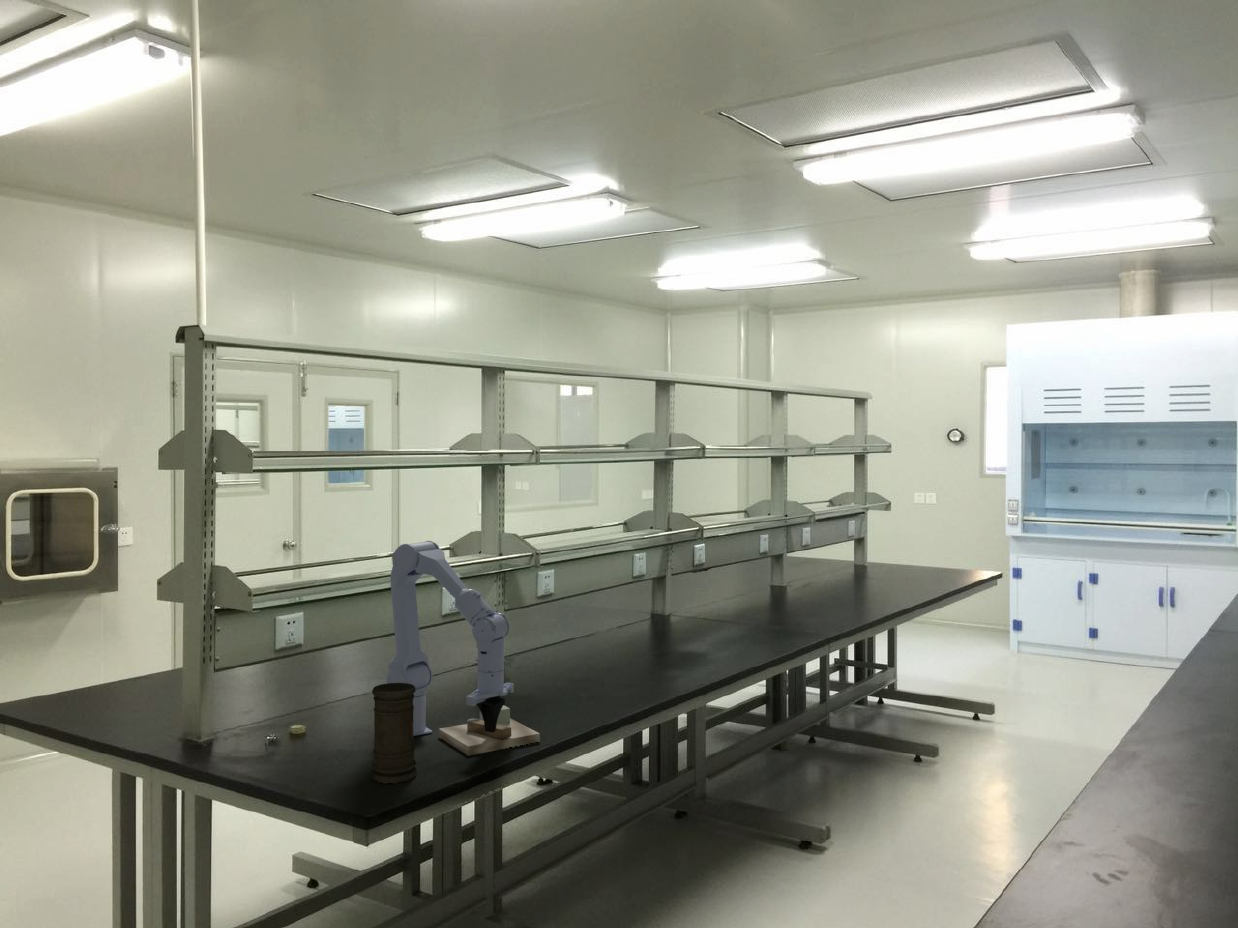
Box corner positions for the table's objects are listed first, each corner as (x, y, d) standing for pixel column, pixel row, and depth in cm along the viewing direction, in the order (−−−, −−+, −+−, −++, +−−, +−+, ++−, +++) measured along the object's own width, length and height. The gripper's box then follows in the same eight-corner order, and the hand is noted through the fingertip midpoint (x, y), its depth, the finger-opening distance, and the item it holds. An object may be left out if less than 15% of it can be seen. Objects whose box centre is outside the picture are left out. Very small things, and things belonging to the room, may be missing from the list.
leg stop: (486, 725, 227) (486, 712, 227) (479, 722, 230) (479, 708, 230) (509, 721, 231) (509, 708, 231) (502, 718, 234) (502, 704, 234)
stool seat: (468, 755, 212) (468, 746, 212) (438, 737, 225) (438, 728, 225) (539, 742, 222) (539, 733, 222) (507, 725, 235) (508, 717, 235)
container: (388, 787, 193) (388, 695, 192) (362, 776, 199) (362, 687, 198) (426, 775, 199) (426, 686, 199) (399, 765, 205) (399, 679, 205)
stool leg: (464, 729, 224) (464, 720, 224) (473, 726, 226) (473, 717, 226) (502, 739, 216) (502, 730, 216) (511, 736, 219) (511, 727, 219)
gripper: (484, 678, 210) (484, 742, 210) (525, 665, 222) (524, 725, 223) (458, 674, 213) (458, 737, 214) (499, 661, 226) (499, 721, 226)
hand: (490, 731), depth 218 cm, fingers closed, pressing on stool leg
